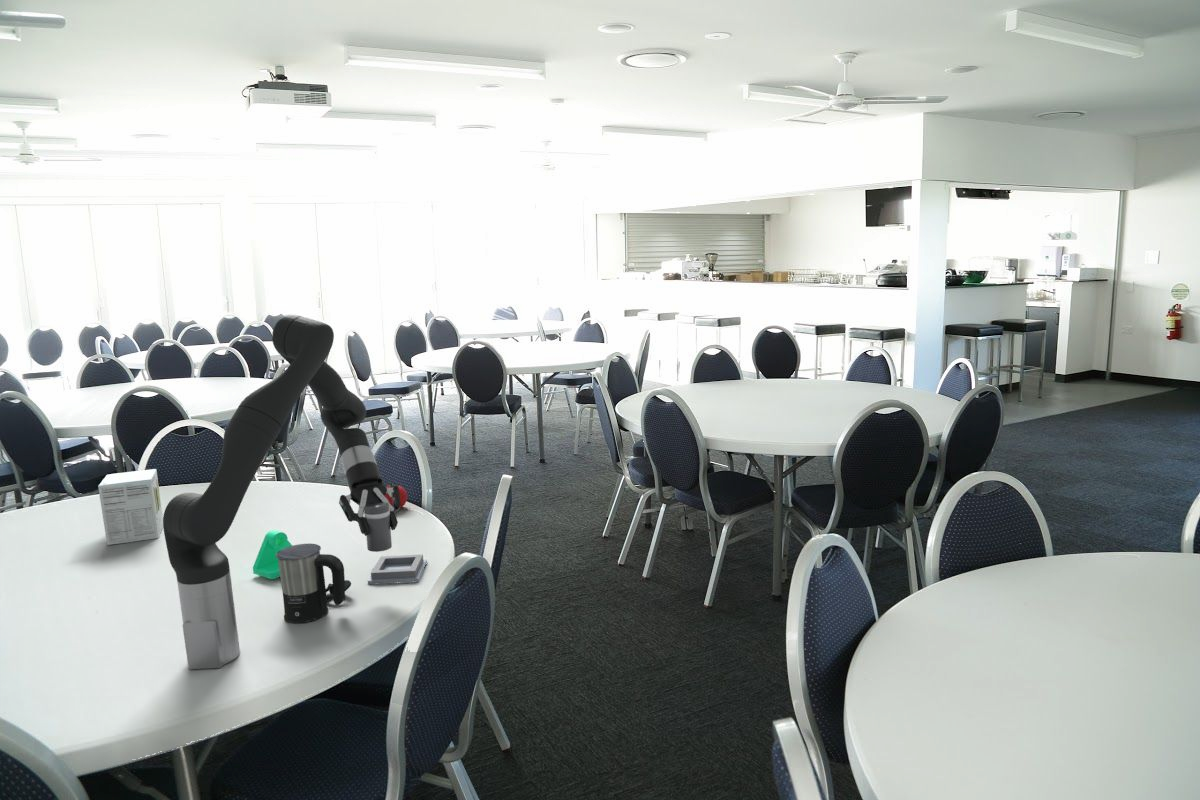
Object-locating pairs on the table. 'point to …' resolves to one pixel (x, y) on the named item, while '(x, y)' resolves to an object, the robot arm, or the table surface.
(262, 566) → the camera mount
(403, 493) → the tomato
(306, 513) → the table surface
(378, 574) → the collar plate
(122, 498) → the supplement box
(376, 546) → the grey canister
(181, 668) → the table surface
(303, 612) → the milk frother
